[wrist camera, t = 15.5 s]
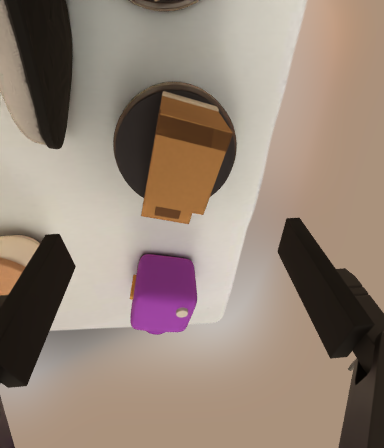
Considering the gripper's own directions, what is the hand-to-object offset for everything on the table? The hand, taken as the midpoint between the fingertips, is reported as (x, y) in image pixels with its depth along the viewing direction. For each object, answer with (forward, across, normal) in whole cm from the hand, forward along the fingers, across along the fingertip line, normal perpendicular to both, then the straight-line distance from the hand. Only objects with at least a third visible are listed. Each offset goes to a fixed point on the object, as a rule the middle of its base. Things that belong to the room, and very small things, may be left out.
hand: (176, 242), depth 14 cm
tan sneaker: (+16, 0, -1) cm, 16 cm away
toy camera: (+18, -4, -25) cm, 32 cm away
